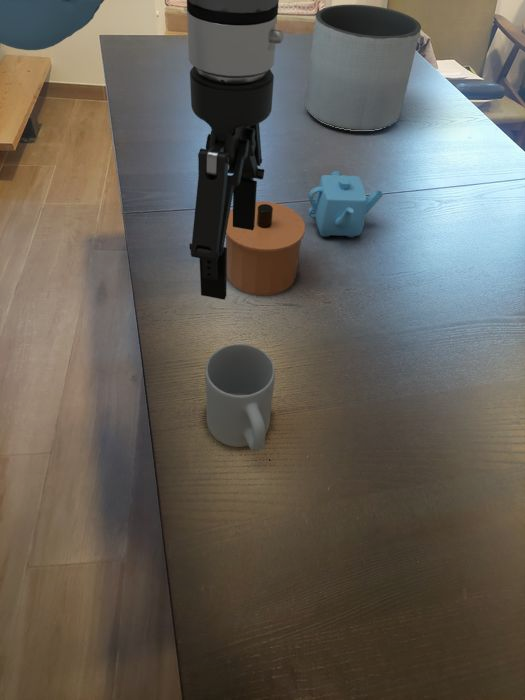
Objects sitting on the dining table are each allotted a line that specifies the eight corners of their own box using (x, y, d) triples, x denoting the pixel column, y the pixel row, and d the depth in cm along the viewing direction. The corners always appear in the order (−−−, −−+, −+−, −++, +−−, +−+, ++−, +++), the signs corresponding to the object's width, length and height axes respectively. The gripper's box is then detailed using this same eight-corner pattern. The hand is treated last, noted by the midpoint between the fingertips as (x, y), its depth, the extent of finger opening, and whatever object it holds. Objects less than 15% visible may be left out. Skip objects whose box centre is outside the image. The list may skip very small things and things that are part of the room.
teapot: (300, 201, 107) (306, 155, 99) (366, 203, 107) (377, 157, 100) (309, 254, 95) (316, 207, 87) (383, 256, 96) (397, 209, 88)
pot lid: (222, 254, 79) (222, 231, 76) (223, 206, 88) (223, 184, 85) (308, 256, 80) (311, 234, 77) (300, 208, 89) (303, 186, 86)
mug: (199, 404, 71) (196, 351, 62) (256, 389, 73) (261, 336, 65) (226, 479, 63) (226, 430, 55) (289, 459, 66) (298, 410, 57)
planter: (305, 90, 145) (315, -1, 129) (394, 99, 145) (415, 9, 128) (302, 130, 128) (313, 31, 112) (402, 140, 128) (429, 42, 111)
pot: (225, 294, 86) (225, 249, 79) (226, 249, 94) (226, 204, 87) (298, 296, 87) (305, 250, 80) (292, 251, 95) (298, 206, 88)
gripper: (238, 135, 37) (233, 337, 52) (297, 30, 53) (280, 208, 69) (138, 119, 37) (163, 323, 53) (228, 20, 54) (226, 199, 70)
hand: (229, 258), depth 61 cm, fingers open, 13 cm apart
